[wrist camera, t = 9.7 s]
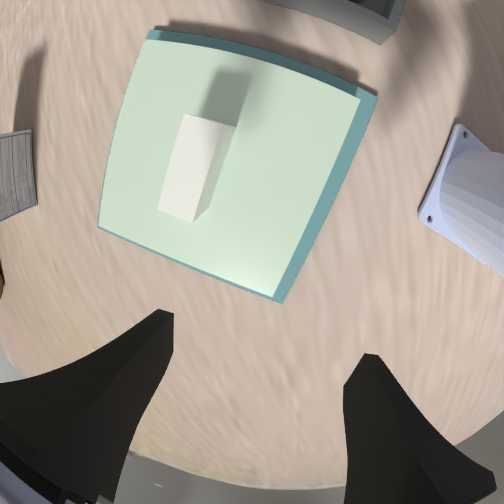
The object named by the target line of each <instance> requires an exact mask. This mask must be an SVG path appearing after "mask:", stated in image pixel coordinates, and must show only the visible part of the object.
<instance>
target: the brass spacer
mask: <svg viewBox="0 0 504 504" xmlns="http://www.w3.org/2000/svg"><path fill="white" fill-rule="evenodd" d="M348 1H351V2H353V3H360V2H363V1H364V0H348Z"/></svg>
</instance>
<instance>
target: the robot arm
mask: <svg viewBox="0 0 504 504" xmlns="http://www.w3.org/2000/svg"><path fill="white" fill-rule="evenodd" d="M463 132H465V137H464V136H463ZM417 216H418V219H419V220H420V221H421V222H422V223H424V224H426V225H427V226H429V227H431V228H432V229H434V230H435V231H437V232H438V233H440V234H442V235H443V236H445V237H446V238H448V239H449V240H451V241H452V242H454V243H455V244H457V245H458V246H460V247H461V248H462V249H464V250H465V251H467V252H468V253H470V254H471V255H472V256H474V257H475V258H477V259H478V260H479V261H481V262H482V263H483V264H485V265H489V266H490V267H491V268H493V269H494V270H495V271H496V272H497V273H498V274H499V275H500V276H501V277H502V278H503V279H504V154H502V153H497V152H493V151H491V150H490V149H488V148H487V147H486V146H485V145H484V144H483V143H482V142H481V141H480V140H479V139H478V138H477V137H476V136H475V135H474V134H473V133H471V132H470V131H469V130H468V129H467V128H466V127H465V126H463V125H462V124H455V126H454V128H453V131H452V134H451V136H450V139H449V142H448V145H447V147H446V150H445V152H444V155H443V158H442V160H441V163H440V165H439V167H438V170H437V172H436V174H435V177H434V179H433V181H432V184H431V186H430V188H429V190H428V192H427V195H426V197H425V199H424V201H423V203H422V205H421V207H420V209H419V211H418V214H417ZM428 216H431V218H430V220H429V221H427V218H428ZM173 329H174V313H171V312H167V311H164V310H161V309H158V310H156V311H154V312H153V313H152V314H150V315H149V316H147V317H146V318H145V319H143V320H142V321H140V322H139V323H138V324H136V325H135V326H133V327H132V328H131V329H129V330H128V331H126V332H125V333H123V334H122V335H120V336H119V337H117V338H116V339H114V340H113V341H111V342H109V343H108V344H106V345H104V346H103V347H101V348H99V349H98V350H96V351H94V352H92V353H91V354H89V355H87V356H85V357H83V358H81V359H79V360H77V361H75V362H73V363H70V364H68V365H66V366H63V367H61V368H58V369H55V370H53V371H50V372H47V373H44V374H41V375H38V376H34V377H30V378H26V379H23V380H17V381H12V382H6V383H0V504H85V502H86V503H88V504H96V502H99V503H101V504H113V503H114V498H115V494H116V490H117V486H118V482H119V478H120V474H121V471H122V468H123V465H124V461H125V459H126V456H127V453H128V450H129V447H130V444H131V441H132V439H133V436H134V433H135V431H136V428H137V425H138V423H139V421H140V419H141V417H142V415H143V413H144V411H145V409H146V408H147V406H148V404H149V402H150V400H151V398H152V396H153V395H154V393H155V391H156V389H157V387H158V385H159V383H160V382H161V380H162V378H163V376H164V374H165V372H166V369H167V367H168V364H169V362H170V359H171V356H172V354H173ZM343 414H344V424H345V433H346V444H347V456H348V468H347V483H346V491H345V499H344V504H474V503H476V502H478V501H479V500H481V499H483V498H485V497H487V496H488V495H490V494H491V493H493V492H495V491H496V489H497V487H496V482H495V478H494V474H493V472H492V471H490V470H488V469H486V468H485V467H483V466H481V465H479V464H477V463H476V462H474V461H473V460H471V459H470V458H468V457H467V456H466V455H464V454H463V453H462V452H460V451H459V450H458V449H456V448H455V447H454V446H453V445H452V444H451V443H450V442H448V441H447V440H446V439H445V438H444V437H443V436H442V435H441V434H440V433H439V432H438V431H437V430H436V429H435V428H434V427H433V426H432V425H431V424H430V423H429V421H428V420H427V419H426V418H425V417H424V416H423V414H422V413H421V412H420V411H419V409H418V408H417V407H416V406H415V404H414V403H413V402H412V400H411V399H410V398H409V396H408V395H407V394H406V392H405V391H404V390H403V388H402V387H401V385H400V384H399V383H398V381H397V380H396V378H395V377H394V376H393V374H392V373H391V371H390V370H389V369H388V367H387V366H386V365H385V363H384V362H383V361H382V359H381V358H380V357H379V356H378V355H374V354H366V353H364V355H363V357H362V358H361V360H360V362H359V363H358V365H357V366H356V368H355V370H354V371H353V373H352V374H351V376H350V377H349V379H348V380H347V382H346V383H345V385H344V386H343Z"/></svg>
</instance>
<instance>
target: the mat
mask: <svg viewBox="0 0 504 504" xmlns="http://www.w3.org/2000/svg"><path fill="white" fill-rule="evenodd" d="M146 39H148V40H159V41H169V42H177V43H184V44H191V45H197V46H202V47H208V48H213V49H218V50H223V51H227V52H231V53H235V54H240V55H243V56H247V57H251V58H255V59H258V60H262V61H265V62H268V63H271V64H275V65H278V66H281V67H284V68H287V69H290V70H292V71H295V72H298V73H301V74H303V75H306V76H309V77H311V78H314V79H316V80H319V81H321V82H323V83H326V84H328V85H330V86H333V87H335V88H337V89H339V90H342V91H344V92H346V93H348V94H350V95H352V96H354V97H356V98H358V99H360V103H359V105H358V108H357V110H356V113H355V115H354V118H353V120H352V122H351V125H350V127H349V130H348V132H347V135H346V137H345V139H344V142H343V144H342V147H341V149H340V151H339V154H338V156H337V158H336V161H335V163H334V165H333V168H332V170H331V172H330V175H329V177H328V179H327V182H326V184H325V186H324V188H323V191H322V193H321V195H320V197H319V200H318V202H317V204H316V206H315V208H314V211H313V213H312V215H311V217H310V219H309V222H308V224H307V226H306V228H305V230H304V232H303V234H302V237H301V239H300V241H299V243H298V245H297V247H296V249H295V251H294V254H293V256H292V258H291V260H290V262H289V264H288V266H287V268H286V270H285V272H284V274H283V276H282V278H281V280H280V282H279V284H278V286H277V289H276V291H275V293H274V295H273V297H270V296H268V295H265V294H262V293H260V292H257V291H254V290H252V289H249V288H246V287H244V286H241V285H239V284H236V283H233V282H231V281H228V280H226V279H223V278H221V277H218V276H216V275H213V274H211V273H208V272H206V271H203V270H201V269H198V268H196V267H193V266H191V265H188V264H186V263H183V262H181V261H178V260H176V259H174V258H171V257H169V256H166V255H164V254H162V253H159V252H157V251H154V250H152V249H150V248H147V247H145V246H143V245H140V244H138V243H136V242H133V241H131V240H129V239H127V238H124V237H122V236H120V235H117V234H115V233H113V232H111V231H108V230H106V229H104V228H102V227H100V226H98V225H97V227H98V228H100V229H102V230H104V231H106V232H109V233H111V234H113V235H115V236H117V237H120V238H122V239H124V240H126V241H128V242H131V243H133V244H135V245H137V246H140V247H142V248H144V249H147V250H149V251H151V252H153V253H156V254H158V255H160V256H163V257H165V258H167V259H170V260H172V261H174V262H177V263H179V264H182V265H184V266H186V267H189V268H191V269H194V270H196V271H198V272H201V273H203V274H206V275H208V276H211V277H213V278H216V279H218V280H221V281H223V282H226V283H228V284H231V285H233V286H236V287H238V288H241V289H244V290H246V291H249V292H251V293H254V294H256V295H259V296H262V297H264V298H267V299H270V300H272V301H275V302H278V303H280V304H282V303H283V301H284V300H285V298H286V296H287V294H288V292H289V290H290V288H291V286H292V285H293V283H294V281H295V279H296V277H297V275H298V273H299V271H300V269H301V267H302V265H303V263H304V262H305V260H306V258H307V256H308V254H309V252H310V250H311V248H312V246H313V244H314V242H315V240H316V238H317V236H318V234H319V232H320V230H321V228H322V226H323V223H324V221H325V219H326V217H327V215H328V213H329V211H330V209H331V207H332V205H333V203H334V200H335V198H336V196H337V194H338V192H339V190H340V187H341V185H342V183H343V181H344V179H345V176H346V174H347V172H348V170H349V168H350V165H351V163H352V161H353V159H354V156H355V154H356V152H357V149H358V147H359V145H360V142H361V140H362V138H363V135H364V133H365V130H366V128H367V126H368V123H369V121H370V118H371V116H372V113H373V111H374V108H375V106H376V103H377V101H378V97H377V96H375V95H373V94H371V93H369V92H367V91H365V90H363V89H361V88H359V87H357V86H355V85H353V84H351V83H349V82H347V81H345V80H343V79H341V78H339V77H336V76H334V75H332V74H330V73H327V72H325V71H323V70H320V69H318V68H315V67H313V66H310V65H308V64H305V63H302V62H300V61H297V60H294V59H291V58H288V57H285V56H282V55H279V54H276V53H273V52H270V51H266V50H263V49H259V48H256V47H252V46H248V45H245V44H240V43H236V42H232V41H228V40H223V39H218V38H213V37H207V36H202V35H195V34H189V33H181V32H173V31H163V30H150V31H149V33H148V35H147V37H146ZM138 57H139V56H138ZM133 70H134V69H133ZM132 73H133V72H132ZM128 84H129V83H128ZM127 87H128V86H127ZM126 90H127V89H126ZM125 93H126V92H125ZM123 100H124V99H123ZM122 103H123V102H122ZM121 106H122V105H121ZM120 110H121V109H120ZM119 113H120V112H119ZM118 117H119V115H118ZM117 121H118V119H117ZM116 124H117V123H116ZM115 128H116V126H115ZM114 132H115V130H114ZM113 136H114V134H113ZM112 140H113V138H112ZM111 145H112V143H111ZM110 149H111V147H110ZM109 154H110V151H109ZM108 159H109V156H108ZM107 164H108V161H107ZM106 169H107V166H106ZM105 174H106V171H105ZM104 180H105V176H104ZM103 186H104V182H103ZM102 193H103V188H102ZM101 199H102V194H101ZM100 207H101V201H100ZM99 215H100V208H99ZM98 224H99V216H98Z"/></svg>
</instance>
